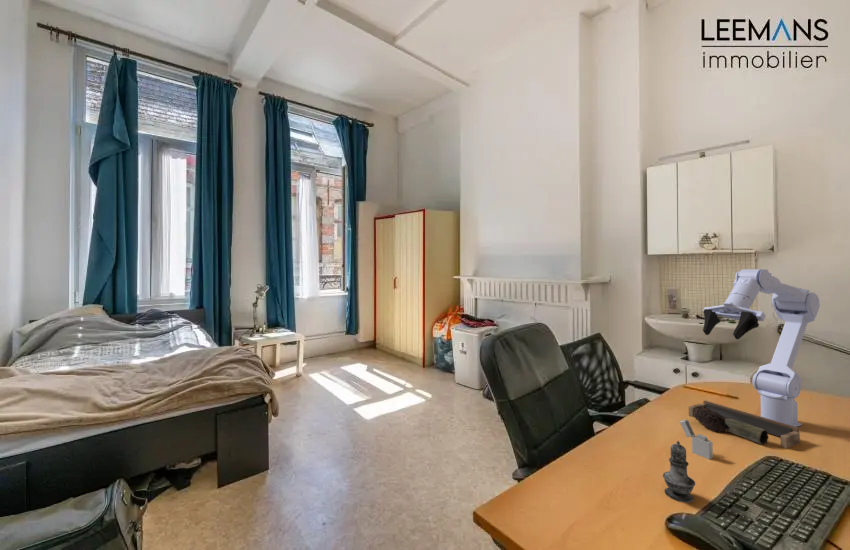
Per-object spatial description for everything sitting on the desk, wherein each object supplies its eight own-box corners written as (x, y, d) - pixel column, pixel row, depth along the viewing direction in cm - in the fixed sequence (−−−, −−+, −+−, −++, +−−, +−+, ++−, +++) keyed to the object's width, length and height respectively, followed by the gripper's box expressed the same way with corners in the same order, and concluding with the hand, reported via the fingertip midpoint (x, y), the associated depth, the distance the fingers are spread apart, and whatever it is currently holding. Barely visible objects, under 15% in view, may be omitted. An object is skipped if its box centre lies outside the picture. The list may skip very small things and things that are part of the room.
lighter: (713, 457, 94) (712, 427, 94) (709, 459, 93) (709, 428, 93) (683, 446, 100) (683, 417, 100) (679, 447, 99) (679, 419, 99)
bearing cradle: (703, 411, 124) (703, 399, 124) (801, 442, 101) (801, 428, 101) (688, 415, 121) (688, 403, 121) (786, 448, 98) (786, 433, 98)
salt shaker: (656, 488, 81) (655, 435, 81) (680, 486, 82) (679, 434, 82) (676, 504, 76) (676, 448, 75) (702, 502, 76) (702, 446, 76)
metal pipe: (769, 443, 102) (769, 423, 102) (756, 448, 99) (756, 428, 99) (700, 420, 118) (700, 403, 118) (687, 424, 115) (687, 406, 115)
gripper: (706, 290, 112) (687, 322, 109) (765, 292, 99) (744, 329, 95) (716, 305, 114) (697, 337, 110) (775, 309, 101) (755, 346, 97)
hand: (720, 334), depth 103 cm, fingers open, 7 cm apart
